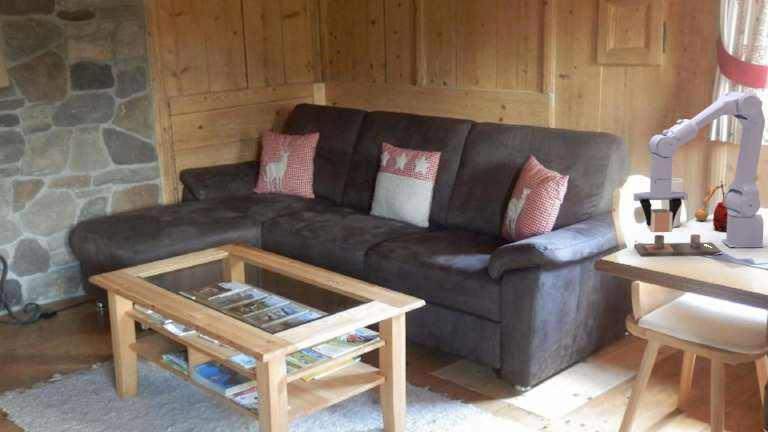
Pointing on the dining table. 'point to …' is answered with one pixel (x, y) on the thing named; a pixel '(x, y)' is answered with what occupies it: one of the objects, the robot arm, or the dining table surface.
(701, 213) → the tan bulb-shaped piece
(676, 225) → the white tall cup
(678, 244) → the pin board
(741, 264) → the dining table surface
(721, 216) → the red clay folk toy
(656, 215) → the sleeve
